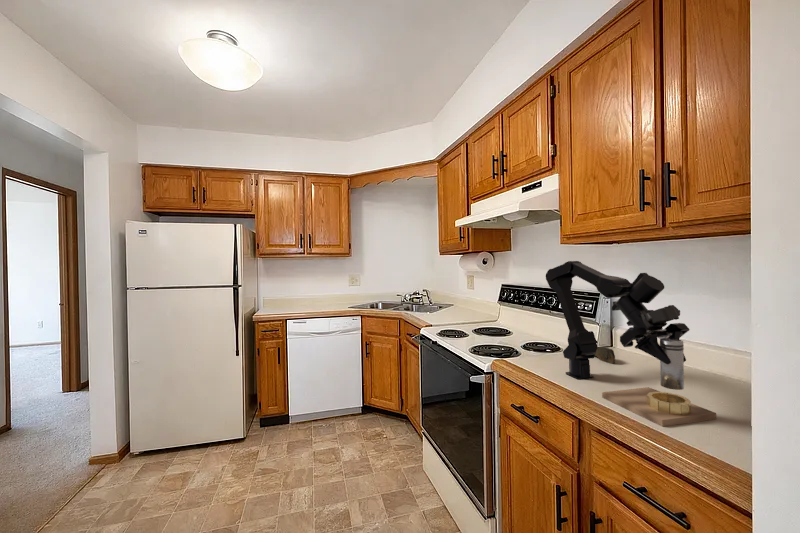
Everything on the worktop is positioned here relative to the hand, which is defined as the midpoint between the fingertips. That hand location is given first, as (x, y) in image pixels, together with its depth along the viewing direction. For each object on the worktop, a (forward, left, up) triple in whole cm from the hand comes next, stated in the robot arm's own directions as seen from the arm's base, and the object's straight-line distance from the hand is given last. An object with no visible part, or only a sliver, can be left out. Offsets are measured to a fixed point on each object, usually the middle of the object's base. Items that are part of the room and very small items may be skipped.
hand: (677, 362), depth 90 cm
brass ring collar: (-1, -1, -12) cm, 12 cm away
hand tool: (-53, +21, -14) cm, 59 cm away
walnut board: (-5, -2, -13) cm, 14 cm away
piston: (-1, 0, -7) cm, 7 cm away
